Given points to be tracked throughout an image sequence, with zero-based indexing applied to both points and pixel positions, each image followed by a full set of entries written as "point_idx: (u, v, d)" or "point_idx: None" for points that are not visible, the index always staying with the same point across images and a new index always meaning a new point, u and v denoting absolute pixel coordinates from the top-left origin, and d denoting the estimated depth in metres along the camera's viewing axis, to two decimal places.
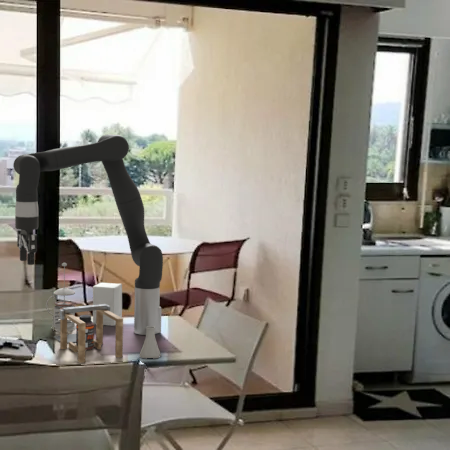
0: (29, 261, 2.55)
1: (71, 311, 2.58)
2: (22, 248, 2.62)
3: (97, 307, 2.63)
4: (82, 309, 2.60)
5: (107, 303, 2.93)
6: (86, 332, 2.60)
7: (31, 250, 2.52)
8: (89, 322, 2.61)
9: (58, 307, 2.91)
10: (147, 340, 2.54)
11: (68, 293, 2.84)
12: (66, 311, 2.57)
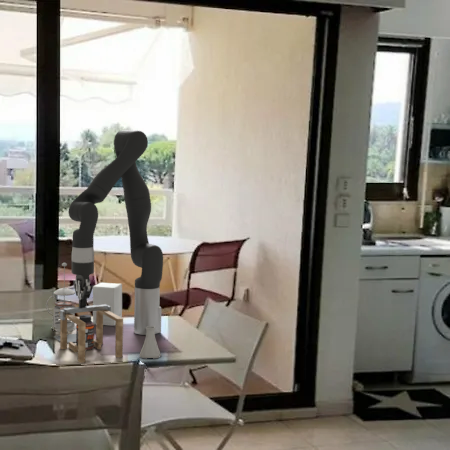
0: None
1: (72, 311, 2.57)
2: None
3: (98, 307, 2.62)
4: (83, 309, 2.59)
5: (107, 303, 2.93)
6: (86, 332, 2.60)
7: (84, 298, 2.60)
8: (89, 322, 2.61)
9: (58, 307, 2.91)
10: (147, 340, 2.54)
11: (68, 293, 2.84)
12: (67, 311, 2.56)
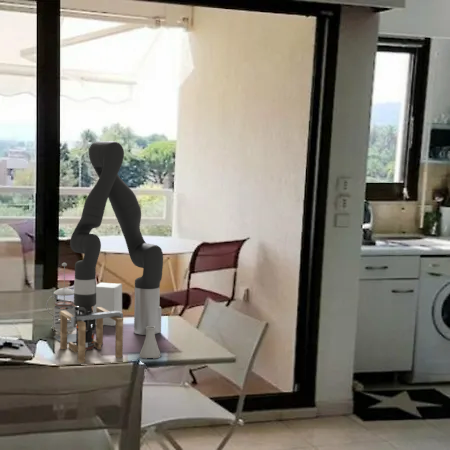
0: (87, 339, 2.59)
1: (83, 318, 2.49)
2: None
3: (110, 314, 2.53)
4: (94, 316, 2.51)
5: (107, 303, 2.93)
6: None
7: (89, 329, 2.57)
8: None
9: (58, 307, 2.91)
10: (147, 340, 2.54)
11: (68, 293, 2.84)
12: (78, 318, 2.48)
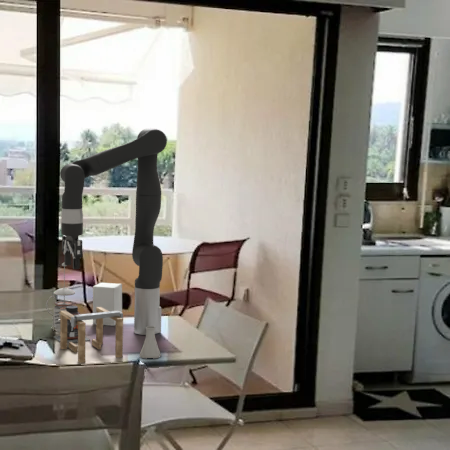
0: (75, 265, 2.66)
1: (83, 318, 2.49)
2: (67, 253, 2.74)
3: (110, 314, 2.53)
4: (94, 316, 2.51)
5: (107, 303, 2.93)
6: None
7: (77, 255, 2.64)
8: (76, 312, 2.72)
9: (58, 307, 2.91)
10: (147, 340, 2.54)
11: (68, 293, 2.84)
12: (78, 318, 2.48)
